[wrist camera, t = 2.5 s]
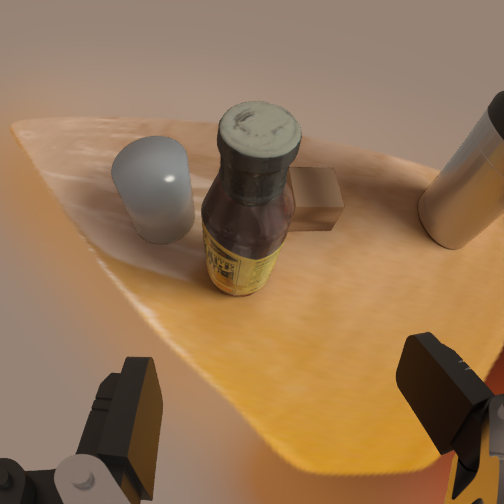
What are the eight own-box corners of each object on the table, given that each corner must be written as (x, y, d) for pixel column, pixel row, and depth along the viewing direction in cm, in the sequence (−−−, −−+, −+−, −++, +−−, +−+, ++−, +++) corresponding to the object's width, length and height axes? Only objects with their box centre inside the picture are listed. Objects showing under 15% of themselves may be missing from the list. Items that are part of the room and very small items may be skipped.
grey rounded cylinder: (195, 189, 36) (189, 133, 28) (194, 243, 33) (185, 192, 25) (137, 192, 36) (118, 139, 27) (131, 245, 33) (105, 198, 25)
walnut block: (322, 194, 37) (334, 168, 33) (330, 230, 35) (344, 206, 31) (282, 194, 37) (289, 167, 32) (287, 231, 35) (296, 206, 30)
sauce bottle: (200, 253, 33) (177, 93, 15) (256, 236, 34) (285, 75, 16) (220, 311, 30) (211, 184, 12) (280, 291, 32) (344, 154, 14)
